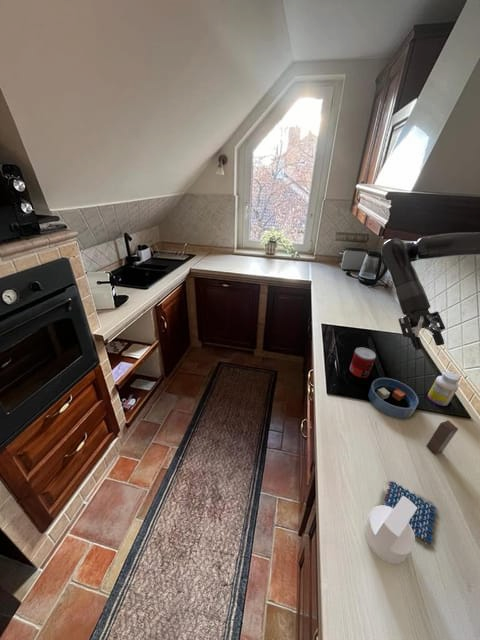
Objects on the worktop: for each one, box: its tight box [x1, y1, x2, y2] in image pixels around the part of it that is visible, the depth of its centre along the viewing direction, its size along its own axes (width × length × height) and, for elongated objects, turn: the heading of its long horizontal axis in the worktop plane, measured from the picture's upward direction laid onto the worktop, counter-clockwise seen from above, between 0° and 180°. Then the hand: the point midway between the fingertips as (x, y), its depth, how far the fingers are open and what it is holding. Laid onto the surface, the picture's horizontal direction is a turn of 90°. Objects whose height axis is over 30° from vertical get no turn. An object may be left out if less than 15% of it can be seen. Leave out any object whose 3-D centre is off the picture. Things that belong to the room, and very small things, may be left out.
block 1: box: [375, 388, 391, 400], centre depth 96 cm, size 3×3×3 cm
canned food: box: [349, 346, 377, 379], centre depth 106 cm, size 8×8×11 cm
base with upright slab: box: [363, 496, 417, 565], centre depth 56 cm, size 9×9×12 cm
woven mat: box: [382, 480, 437, 545], centre depth 63 cm, size 10×11×2 cm
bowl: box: [367, 377, 420, 419], centre depth 93 cm, size 15×15×6 cm
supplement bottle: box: [427, 370, 460, 407], centre depth 93 cm, size 7×7×13 cm
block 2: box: [391, 389, 406, 402], centre depth 95 cm, size 3×3×3 cm
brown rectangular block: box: [425, 420, 459, 456], centre depth 75 cm, size 3×3×12 cm
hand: (430, 347), depth 77 cm, fingers open, 8 cm apart
